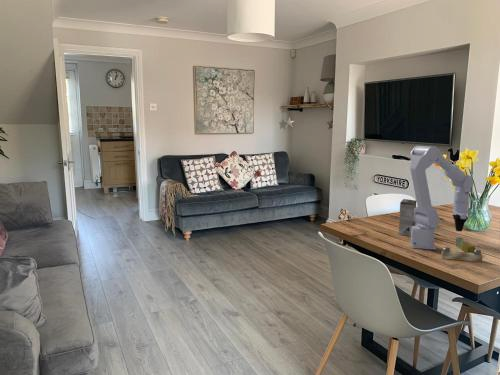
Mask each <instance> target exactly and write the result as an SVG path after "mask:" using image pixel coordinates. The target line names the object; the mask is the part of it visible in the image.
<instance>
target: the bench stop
mask: <svg viewBox="0 0 500 375" xmlns="http://www.w3.org/2000/svg"><path fill="white" fill-rule="evenodd" d="M441 258H442V259H444V260H445V259H446V260H458V261H466V262H467V261H469V262H480V263H482V262H483V255H482V253H481V255H475V254H474V253H467V252H464V251H452V250H450V252H449V253H446V252H443V249H442V250H441Z"/></svg>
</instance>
